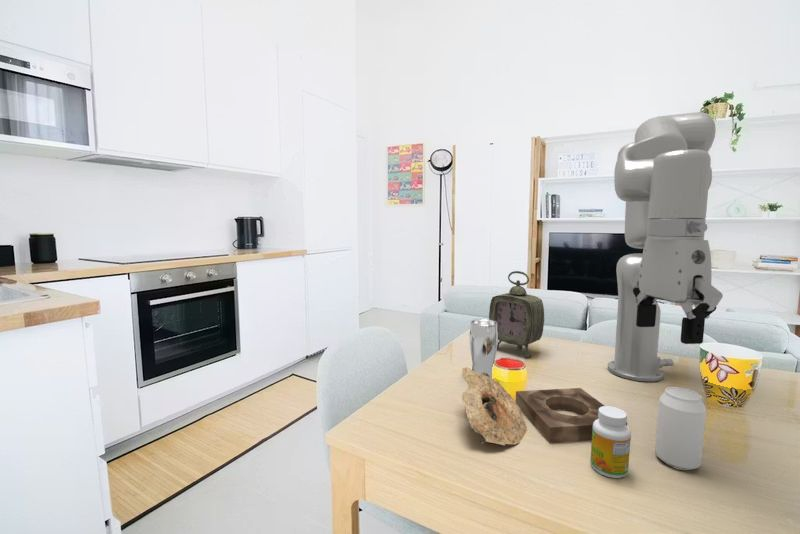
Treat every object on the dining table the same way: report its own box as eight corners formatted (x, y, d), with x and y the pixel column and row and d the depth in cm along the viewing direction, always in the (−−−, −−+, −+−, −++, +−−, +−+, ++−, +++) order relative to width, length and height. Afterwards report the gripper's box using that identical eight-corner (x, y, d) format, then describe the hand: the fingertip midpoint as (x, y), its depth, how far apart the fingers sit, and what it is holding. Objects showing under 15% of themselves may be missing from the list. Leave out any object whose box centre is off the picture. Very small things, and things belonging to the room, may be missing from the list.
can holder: (579, 400, 86) (580, 387, 86) (626, 437, 71) (627, 422, 71) (515, 404, 84) (516, 391, 84) (549, 443, 69) (550, 427, 69)
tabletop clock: (488, 348, 121) (490, 270, 118) (503, 342, 127) (506, 267, 124) (530, 360, 111) (534, 274, 108) (545, 353, 117) (549, 272, 114)
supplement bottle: (583, 459, 65) (586, 404, 64) (613, 457, 65) (617, 403, 64) (603, 480, 59) (606, 421, 58) (635, 478, 60) (640, 419, 59)
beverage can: (672, 447, 68) (677, 383, 67) (709, 469, 62) (717, 398, 61) (645, 454, 66) (651, 387, 65) (682, 477, 60) (689, 404, 59)
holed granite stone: (528, 474, 71) (547, 447, 68) (455, 462, 69) (470, 433, 65) (503, 399, 87) (516, 374, 83) (442, 387, 85) (454, 361, 81)
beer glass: (494, 375, 100) (496, 319, 99) (498, 386, 93) (500, 326, 92) (467, 374, 101) (468, 318, 99) (469, 385, 94) (471, 325, 92)
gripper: (749, 231, 53) (737, 350, 55) (656, 230, 71) (649, 321, 72) (699, 231, 53) (689, 351, 55) (617, 229, 70) (612, 321, 72)
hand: (666, 334), depth 64 cm, fingers open, 9 cm apart
